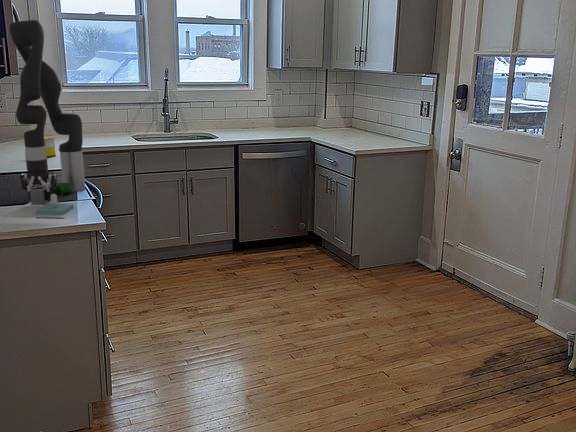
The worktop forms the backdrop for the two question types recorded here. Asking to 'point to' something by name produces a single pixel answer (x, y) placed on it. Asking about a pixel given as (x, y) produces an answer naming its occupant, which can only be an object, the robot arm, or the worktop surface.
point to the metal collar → (38, 196)
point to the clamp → (62, 188)
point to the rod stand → (36, 205)
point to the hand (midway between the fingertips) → (40, 200)
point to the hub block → (54, 208)
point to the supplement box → (49, 146)
